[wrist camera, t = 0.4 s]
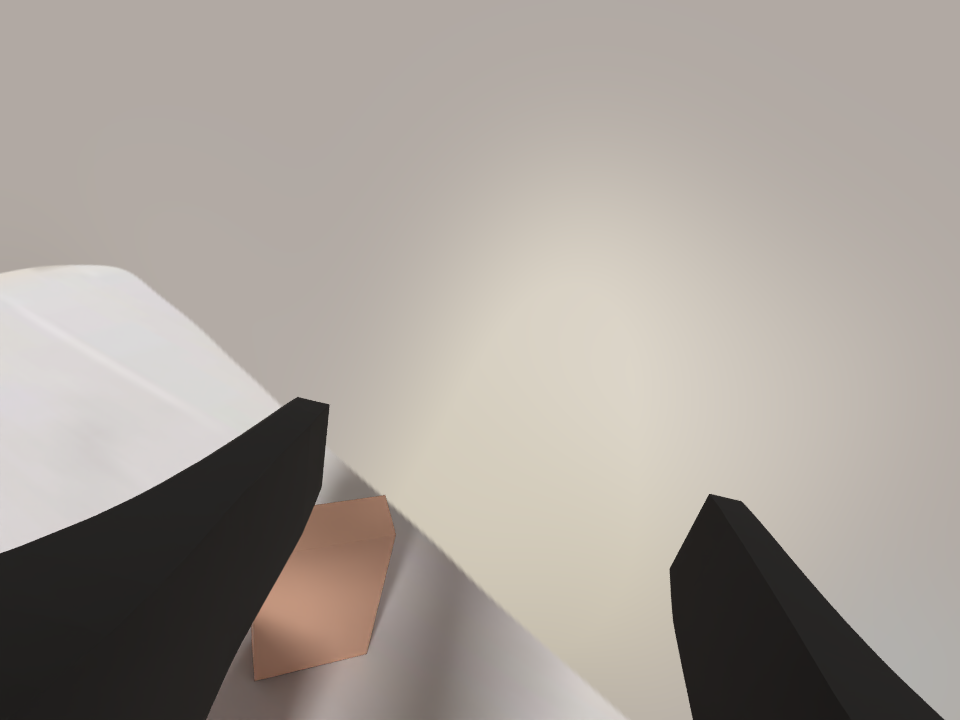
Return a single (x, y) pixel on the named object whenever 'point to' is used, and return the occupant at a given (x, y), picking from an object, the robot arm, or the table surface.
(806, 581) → the robot arm
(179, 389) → the table surface
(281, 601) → the terracotta tile
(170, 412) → the table surface
